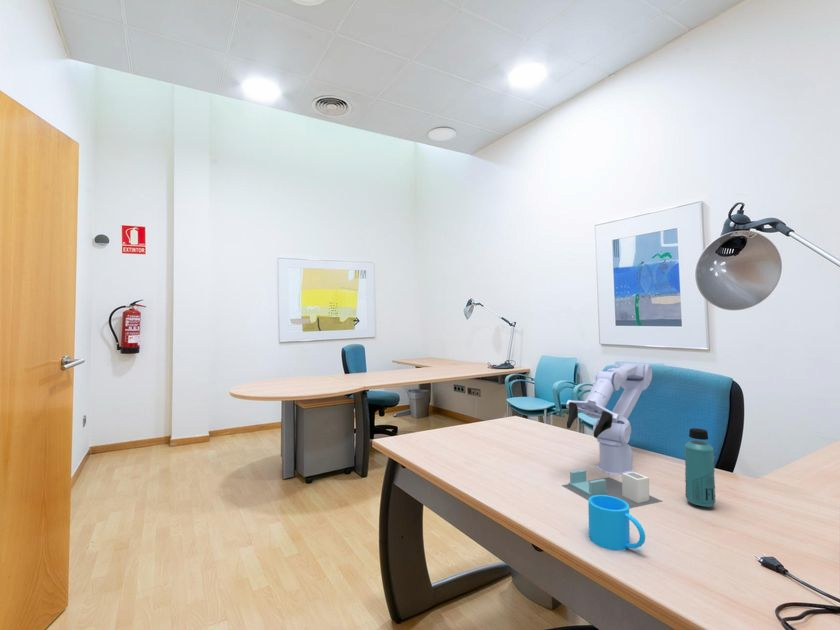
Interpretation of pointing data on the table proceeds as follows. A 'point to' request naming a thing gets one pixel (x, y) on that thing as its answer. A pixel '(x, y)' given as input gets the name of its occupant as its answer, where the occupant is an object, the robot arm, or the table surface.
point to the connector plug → (635, 487)
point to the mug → (611, 523)
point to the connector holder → (587, 484)
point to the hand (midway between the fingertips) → (581, 430)
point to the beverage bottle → (699, 470)
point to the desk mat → (615, 493)
